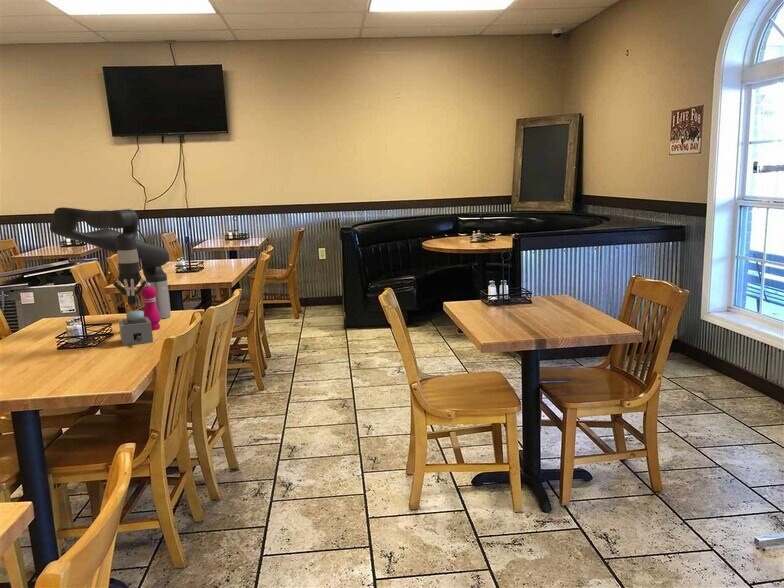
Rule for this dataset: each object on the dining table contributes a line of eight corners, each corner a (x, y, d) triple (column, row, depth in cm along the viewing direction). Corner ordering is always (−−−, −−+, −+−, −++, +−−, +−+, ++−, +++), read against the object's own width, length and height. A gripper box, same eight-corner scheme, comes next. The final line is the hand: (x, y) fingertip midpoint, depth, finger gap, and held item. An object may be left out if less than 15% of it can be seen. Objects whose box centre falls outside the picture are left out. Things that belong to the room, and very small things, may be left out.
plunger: (134, 337, 249) (133, 332, 248) (139, 336, 249) (138, 331, 249) (136, 342, 241) (135, 337, 241) (141, 341, 242) (141, 336, 242)
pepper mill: (164, 326, 273) (159, 281, 270) (156, 331, 266) (151, 284, 262) (148, 326, 274) (143, 281, 270) (140, 331, 267) (135, 284, 263)
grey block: (120, 339, 253) (118, 319, 252) (149, 336, 258) (147, 315, 256) (123, 346, 244) (120, 324, 242) (153, 342, 249) (150, 320, 247)
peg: (130, 338, 254) (127, 311, 251) (147, 337, 255) (144, 310, 253) (127, 342, 248) (124, 314, 245) (145, 341, 249) (142, 313, 247)
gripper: (107, 263, 240) (112, 307, 244) (143, 261, 242) (147, 305, 245) (113, 260, 248) (118, 303, 251) (148, 259, 249) (152, 302, 252)
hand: (132, 304), depth 248 cm, fingers closed
